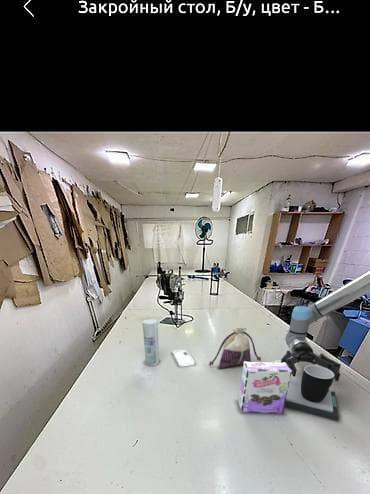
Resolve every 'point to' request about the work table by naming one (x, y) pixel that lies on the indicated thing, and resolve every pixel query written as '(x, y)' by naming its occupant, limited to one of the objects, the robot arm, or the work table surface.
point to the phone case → (183, 358)
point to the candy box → (264, 387)
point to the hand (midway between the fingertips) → (316, 375)
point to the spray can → (151, 341)
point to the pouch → (235, 349)
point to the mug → (316, 383)
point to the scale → (311, 403)
